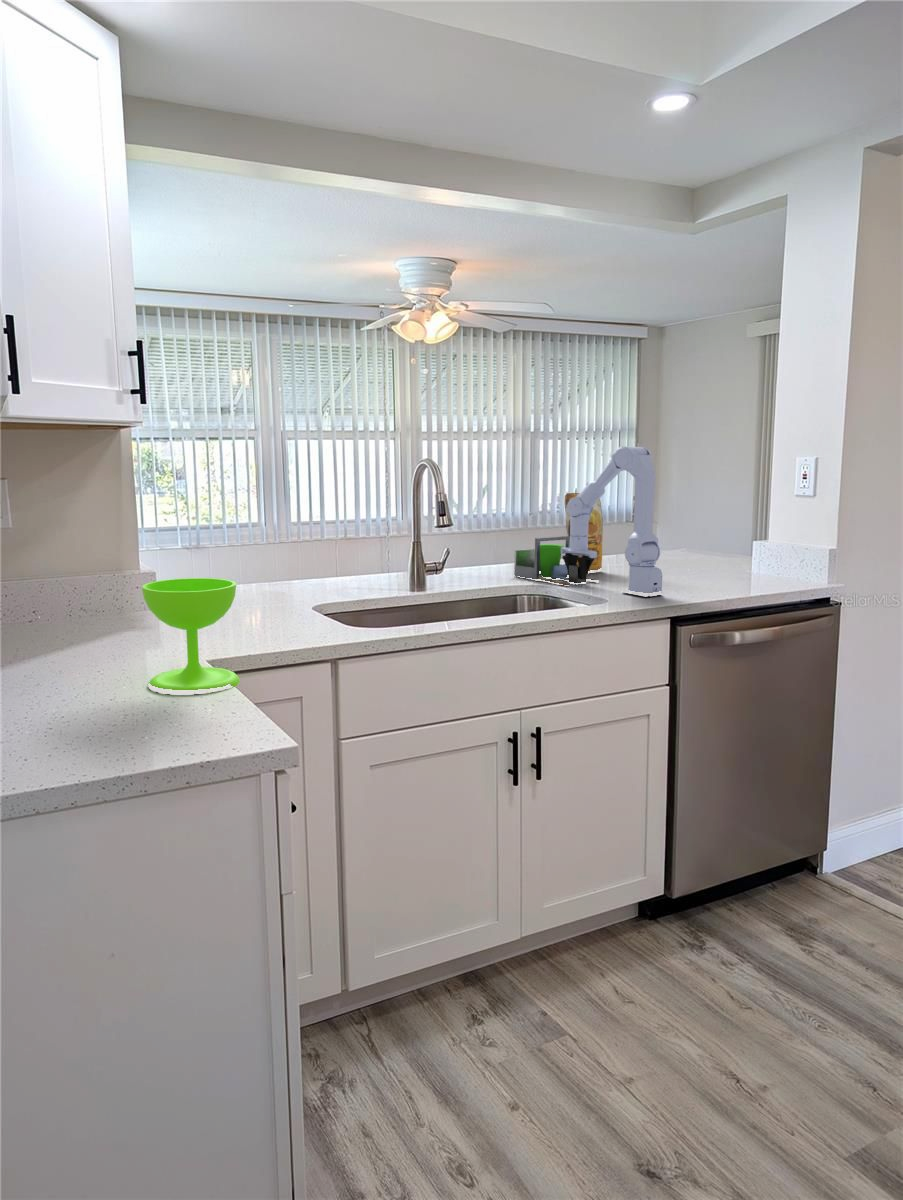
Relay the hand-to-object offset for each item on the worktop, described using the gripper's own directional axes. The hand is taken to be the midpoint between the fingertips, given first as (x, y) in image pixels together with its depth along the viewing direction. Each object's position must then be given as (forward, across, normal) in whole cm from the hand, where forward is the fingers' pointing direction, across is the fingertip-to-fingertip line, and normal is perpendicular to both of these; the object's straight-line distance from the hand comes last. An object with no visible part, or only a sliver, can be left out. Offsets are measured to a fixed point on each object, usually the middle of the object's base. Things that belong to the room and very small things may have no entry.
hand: (577, 578), depth 269 cm
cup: (+2, -14, 0) cm, 14 cm away
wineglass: (+2, +47, -140) cm, 148 cm away
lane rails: (+2, -4, 0) cm, 5 cm away
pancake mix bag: (+2, -17, +19) cm, 26 cm away
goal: (+2, -17, 0) cm, 17 cm away
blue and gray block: (+2, -4, 0) cm, 4 cm away
